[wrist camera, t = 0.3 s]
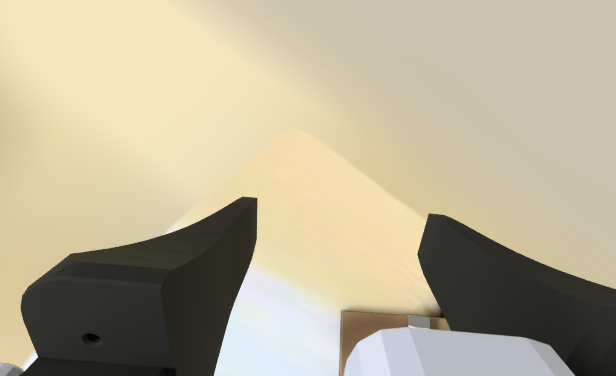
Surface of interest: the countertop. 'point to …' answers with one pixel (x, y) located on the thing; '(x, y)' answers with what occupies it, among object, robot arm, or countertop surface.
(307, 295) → the countertop surface
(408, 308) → the countertop surface
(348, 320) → the dial board
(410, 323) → the dial lever
